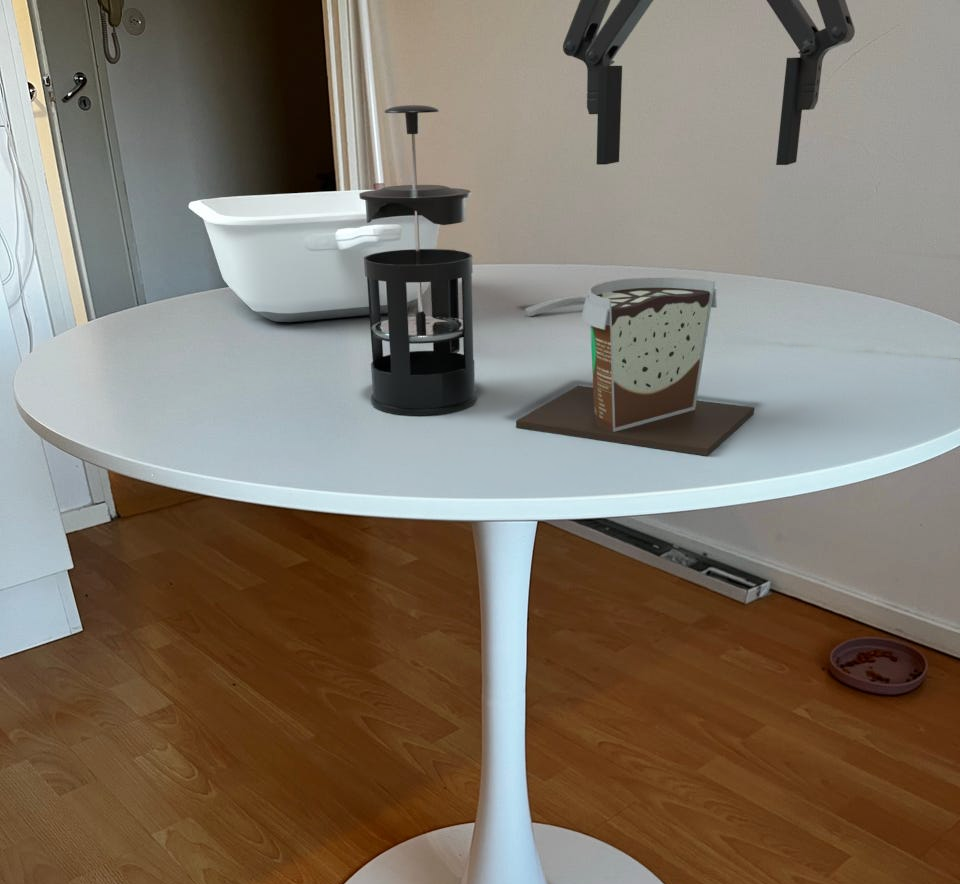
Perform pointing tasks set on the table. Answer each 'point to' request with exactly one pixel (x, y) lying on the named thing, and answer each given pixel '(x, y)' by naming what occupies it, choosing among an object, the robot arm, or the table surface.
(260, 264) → the white dish tub
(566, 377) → the table surface
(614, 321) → the food container
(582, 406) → the mat
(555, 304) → the spoon
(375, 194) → the french press
